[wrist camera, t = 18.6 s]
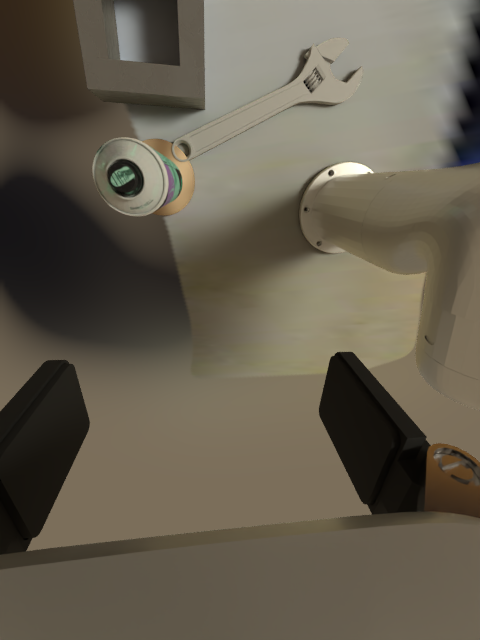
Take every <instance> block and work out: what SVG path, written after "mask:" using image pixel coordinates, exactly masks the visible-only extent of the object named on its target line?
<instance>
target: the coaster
mask: <svg viewBox="0 0 480 640" xmlns="http://www.w3.org/2000/svg"><path fill="white" fill-rule="evenodd" d="M142 142H143V143H145V144H147V145H148V146H150V147H151V148H153V149H154V150H156V151H157V152H159V153H160V154H162V155H163V156H165V157H167V158H168V159H170V160H171V161H172V162H173V163H175V165H176V166H177V167H178V169H179V170H180V172H181V175H182V179H183V186H182V190H181V193H180V195H179V196H178V197H177V198H176V199H175V200H174V201H172V202H170V203H169V204H167V205H165V206H163V207H162V208H160V209H158V210H156V211H155V212H153V214H156V215H172V214H175V213H177V212H179V211H180V210H182V209H183V208H184V207H185V206H186V205H187V204H188V203H189V201H190V199H191V197H192V195H193V192H194V186H195V178H194V172H193V169H192V166H191V164H190V162H189V160H188V161H186V162H181V161H179V160H177V159H176V158H175V156H174V155H173V152H172V146H173V144H172V143H170V142H168V141H165V140H162V139H149V140H145V141H142ZM174 152H175V154H176V156H177V157H178V158H179V159H182V160H185V159H187V157H186V155H185V154H184V153H183V152H182V151H181V150H180V149H179V148H178V147H177V146H175V147H174Z"/></svg>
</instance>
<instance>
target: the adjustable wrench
mask: <svg viewBox="0 0 480 640" xmlns="http://www.w3.org/2000/svg"><path fill="white" fill-rule="evenodd" d="M348 44H349V42H348V40H347V39H345V38H332V39H329V40H327V41H325V42H323V43H321V44H320V45H318V46H317V47H316V46H315V45H314V44H313V45H312V46H311V47H310V49H309V51H308V52H307V53H306V54H305V56H304V57H305V59H306V60H307V61H306V63H305V65H304V67H303V69H302V71H301V73H300V75H299V76H298V77H297V78H296V79H295V80H294V81H293V82H291V83H290V84H288V85H286V86H284V87H282V88H280V89H278V90H276V91H274V92H272V93H270V94H268V95H266V96H263V97H261V98H259V99H257V100H255V101H253V102H251V103H249V104H247V105H245V106H243V107H241V108H239V109H237V110H235V111H233V112H231V113H229V114H227V115H225V116H223V117H221V118H219V119H217V120H215V121H213V122H211V123H209V124H207V125H205V126H203V127H200V128H198V129H196V130H194V131H192V132H190V133H188V134H186V135H184V136H182V137H180V138H178V139H177V140H175V141H174V143H173V146H172V152H173V155H174V156H175V158H176V159H177V160H179V161H181V162H186V161H188V160H189V161H190V160H191V159H193V158H195V157H197V156H199V155H201V154H203V153H205V152H207V151H208V150H210V149H212V148H214V147H216V146H218V145H220V144H222V143H224V142H226V141H227V140H229V139H231V138H233V137H235V136H237V135H239V134H241V133H243V132H244V131H246V130H248V129H250V128H252V127H254V126H256V125H258V124H260V123H261V122H263V121H265V120H267V119H269V118H271V117H273V116H275V115H277V114H278V113H280V112H282V111H284V110H286V109H288V108H290V107H292V106H294V105H297V104H303V103H319V104H326V105H337V104H340V103H342V102H344V101H345V100H347V99H348V98H349V97H351V96H352V95H353V94H354V92H355V91H356V90H357V88H358V86H359V84H360V82H361V79H362V75H363V67H362V66H361V67H360V68H359V69H357V70H356V71H355V73H354V74H353V75H352V76H351V77H350V78H349V79H348V81H347V82H346V83H345V82H342V81H340V80H337V79H336V78H335V77H334V75H333V73H332V72H331V70H330V65H331V64H332V63H333V62H334V61H335V60H336V58H337V57H338V56H339V55H340V54H341V52H342V51H343V50H344V49H345V48H346V47H347V45H348ZM314 73H315V74H314ZM316 76H317V77H316ZM318 79H319V81H318ZM304 80H305V82H306V83H305V84H304V83H303V81H304ZM306 84H307V85H308V86H307V87H306V86H305V85H306ZM308 87H309V88H310V89H309V90H308V89H307V88H308ZM310 90H311V91H312V92H311V93H310ZM180 143H184V144H186V145H187V146H188V148H189V155H188V156H187V159H185V160H182V159H179V158H178V157H177V156H176V154H175V152H174V147H175V146H178V145H179V144H180Z"/></svg>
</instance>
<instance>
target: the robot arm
mask: <svg viewBox="0 0 480 640" xmlns="http://www.w3.org/2000/svg"><path fill="white" fill-rule="evenodd" d="M328 172H330V175H328ZM305 207H306V210H305V211H304V208H305ZM299 221H300V226H301V230H302V232H303V235H304V236H305V238H306V239H307V241H308V242H309V243H310V244H311V245H312V246H314V247H315V248H317V249H319V250H321V251H323V252H327V253H342V252H346V251H347V252H349V253H351V254H353V255H355V256H357V257H359V258H362V259H364V260H366V261H368V262H370V263H372V264H374V265H376V266H378V267H380V268H383V269H385V270H387V271H389V272H392V273H396V274H403V275H410V274H420V273H424V272H427V277H426V284H425V289H424V293H425V295H424V301H423V307H422V313H421V318H420V324H419V330H418V336H417V343H416V352H415V356H416V365H417V368H418V370H419V372H420V375H421V376H422V377H423V378H424V380H425V381H426V382H427V383H428V384H429V385H430V386H431V387H432V388H433V389H435V390H436V391H438V392H439V393H440V394H442V395H444V396H445V397H447V398H449V399H451V400H453V401H455V402H457V403H460V404H462V405H465V406H468V407H470V408H473V409H476V410H479V411H480V163H475V164H470V165H465V166H459V167H451V168H441V169H429V170H416V171H400V172H383V173H374V172H373V171H372V170H371V169H370V168H368V167H367V166H365V165H363V164H361V163H357V162H342V163H337V164H334V165H331V166H329V167H327V168H326V169H324V170H323V171H321V172H320V173H319V174H318V175H317V176H315V177H314V179H313V180H312V181H311V182H310V184H309V185H308V187H307V188H306V190H305V192H304V194H303V197H302V200H301V204H300V209H299ZM317 241H318V244H316V243H317ZM319 415H320V418H321V420H322V422H323V424H324V426H325V428H326V430H327V432H328V434H329V436H330V438H331V440H332V442H333V444H334V446H335V448H336V451H337V453H338V455H339V457H340V459H341V461H342V463H343V465H344V467H345V469H346V471H347V473H348V475H349V477H350V479H351V481H352V483H353V485H354V487H355V489H356V491H357V493H358V495H359V497H360V499H361V501H362V502H363V503H364V504H367V505H368V507H369V509H370V511H371V513H372V515H362V516H350V517H340V518H331V519H320V520H311V521H300V522H291V523H281V524H270V525H261V526H252V527H241V528H232V529H223V530H212V531H204V532H194V533H184V534H175V535H166V536H156V537H147V538H138V539H129V540H120V541H111V542H102V543H93V544H84V545H75V546H66V547H57V548H49V549H41V550H33V551H26V550H27V548H28V546H29V544H30V542H31V540H32V538H34V537H36V536H38V535H39V533H40V532H41V530H42V528H43V526H44V524H45V522H46V519H47V517H48V515H49V513H50V511H51V509H52V507H53V504H54V502H55V500H56V498H57V496H58V494H59V492H60V490H61V487H62V485H63V483H64V481H65V479H66V477H67V475H68V473H69V471H70V469H71V466H72V464H73V462H74V460H75V458H76V456H77V454H78V451H79V449H80V447H81V445H82V443H83V441H84V439H85V437H86V435H87V432H88V430H89V424H90V422H89V417H88V414H87V410H86V407H85V403H84V399H83V396H82V392H81V389H80V385H79V381H78V378H77V374H76V371H75V367H74V365H73V364H69V362H68V361H66V360H48V361H46V362H44V363H43V364H42V366H41V367H40V368H39V369H38V370H37V371H36V372H35V374H33V376H32V377H31V378H30V379H29V380H28V381H27V382H26V383H25V385H24V386H23V387H22V388H21V389H20V390H19V391H18V392H17V393H16V395H15V396H14V397H13V398H12V399H11V400H10V401H9V403H8V404H7V405H6V406H5V407H4V408H3V409H2V410H1V411H0V640H480V462H479V461H478V460H477V459H476V458H475V457H473V456H472V455H470V454H469V453H467V452H466V451H464V450H462V449H460V448H458V447H455V446H452V445H449V444H444V443H436V444H432V445H430V444H429V443H428V442H427V441H426V440H425V439H426V436H425V435H424V433H423V432H422V431H421V430H420V429H419V428H418V426H417V425H416V424H415V423H414V422H413V421H412V420H411V419H410V417H409V416H408V415H407V414H406V413H405V412H404V410H403V409H402V408H401V407H400V406H399V405H398V404H397V402H396V401H395V400H394V399H393V398H392V397H391V396H390V394H389V393H388V392H387V391H386V390H385V389H384V387H383V386H382V385H381V384H380V383H379V382H378V381H377V380H376V378H375V377H374V376H373V375H372V374H371V373H370V371H369V370H368V369H367V368H366V367H365V366H364V364H363V363H362V362H361V361H360V360H359V359H358V358H357V356H356V355H355V354H354V353H353V352H337V353H336V354H335V356H332V357H331V359H330V362H329V367H328V371H327V375H326V380H325V385H324V388H323V393H322V397H321V402H320V406H319Z"/></svg>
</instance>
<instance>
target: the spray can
mask: <svg viewBox="0 0 480 640" xmlns="http://www.w3.org/2000/svg"><path fill="white" fill-rule="evenodd" d="M92 174H93V180H94V183H95V186H96V189H97V191H98V193H99V194H100V196H101V197H102V198H103V200H104V201H105V202H106V203H107V204H108V205H109V206H110V207H111V208H113V209H114V210H116V211H118V212H120V213H122V214H126V215H129V216H145V215H148V214H151V213H153V212H155V211H156V210H158V209H160V208H162V207H163V206H165V205H167V204H169V203H170V202H172V201H174V200H175V199H176V198H177V197H178V196H179V195H180V193H181V190H182V186H183V179H182V175H181V172H180V170H179V169H178V167H177V166H176V165H175V163H173V162H172V161H171V160H170V159H168V158H167V157H165V156H163V155H162V154H160V153H159V152H157V151H156V150H154V149H153V148H151V147H150V146H148V145H147V144H145V143H143V142H141V141H139V140H136V139H133V138H125V137H123V138H115V139H112V140H110V141H107V142H106V143H105V144H103V145H102V146H101V147H100V149H99V150H98V151H97V153H96V155H95V157H94V161H93V165H92Z"/></svg>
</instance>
